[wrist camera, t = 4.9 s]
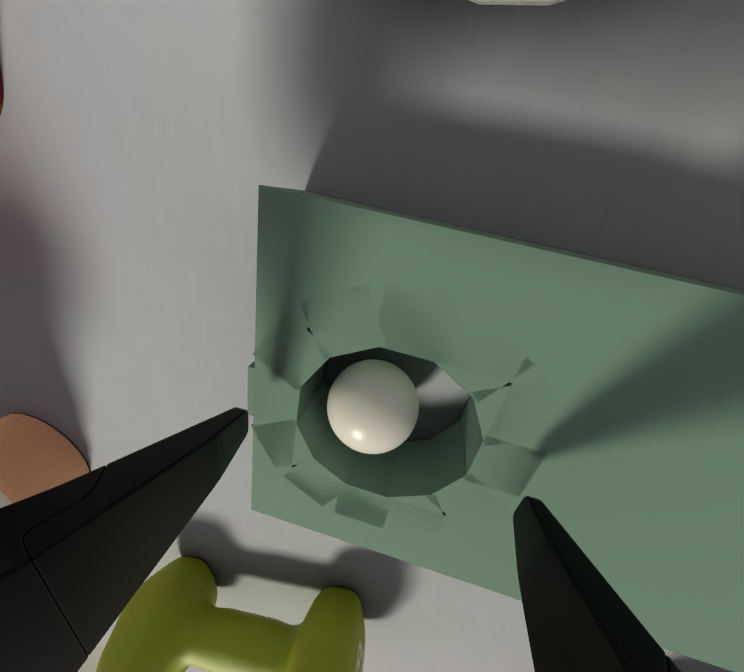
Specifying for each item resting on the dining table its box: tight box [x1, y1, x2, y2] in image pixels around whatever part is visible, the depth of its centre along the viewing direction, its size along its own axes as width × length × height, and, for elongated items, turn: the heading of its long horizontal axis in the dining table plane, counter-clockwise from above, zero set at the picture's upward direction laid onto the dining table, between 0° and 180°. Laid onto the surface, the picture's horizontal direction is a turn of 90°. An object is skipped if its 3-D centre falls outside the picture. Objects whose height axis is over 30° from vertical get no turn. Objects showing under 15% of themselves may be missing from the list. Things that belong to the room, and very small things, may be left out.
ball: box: [327, 359, 419, 454], centre depth 11 cm, size 4×4×4 cm
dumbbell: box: [96, 556, 365, 672], centre depth 20 cm, size 16×8×7 cm, turn 93°
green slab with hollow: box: [248, 185, 744, 672], centre depth 11 cm, size 22×14×3 cm, turn 78°
